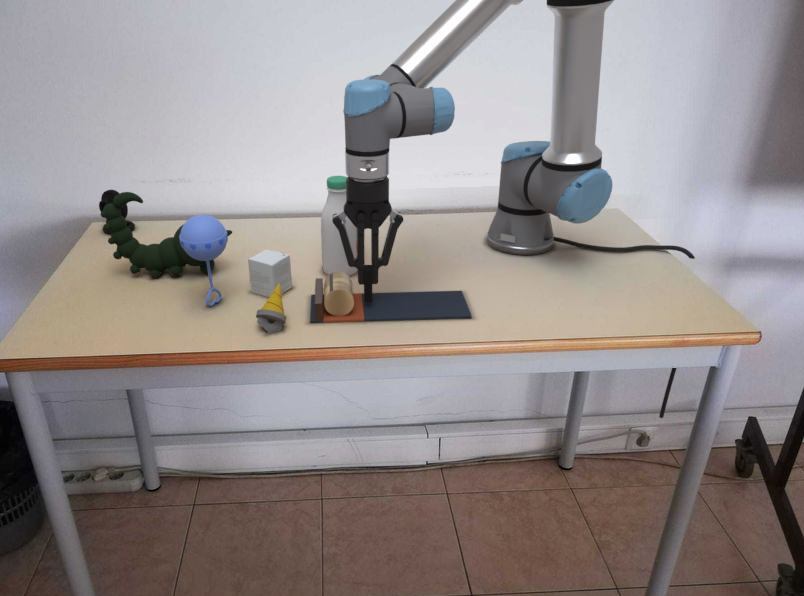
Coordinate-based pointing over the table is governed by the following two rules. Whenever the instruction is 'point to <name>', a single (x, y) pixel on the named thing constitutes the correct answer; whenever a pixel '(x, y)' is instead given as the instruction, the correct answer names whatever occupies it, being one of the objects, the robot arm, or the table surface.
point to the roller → (338, 294)
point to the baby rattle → (204, 243)
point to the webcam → (108, 199)
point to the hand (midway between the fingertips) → (368, 298)
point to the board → (394, 306)
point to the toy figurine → (142, 255)
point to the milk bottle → (336, 230)
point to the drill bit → (272, 312)
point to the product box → (270, 272)
